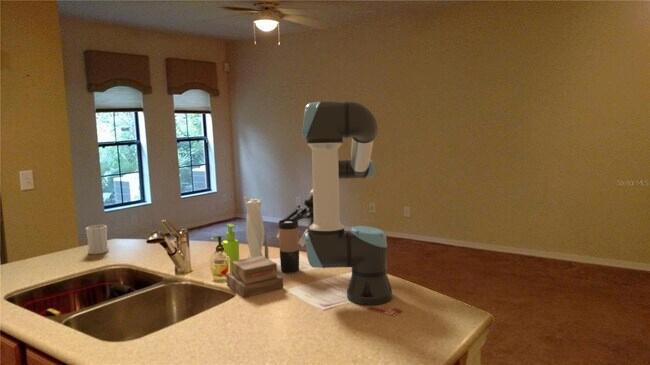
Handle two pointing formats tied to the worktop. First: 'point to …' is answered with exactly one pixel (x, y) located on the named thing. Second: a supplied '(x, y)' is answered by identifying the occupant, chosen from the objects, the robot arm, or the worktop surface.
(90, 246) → the cup
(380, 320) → the worktop surface
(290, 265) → the travel mug
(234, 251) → the soap dispenser
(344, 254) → the robot arm
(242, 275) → the stack of brown boxes
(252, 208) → the white twisted vase
